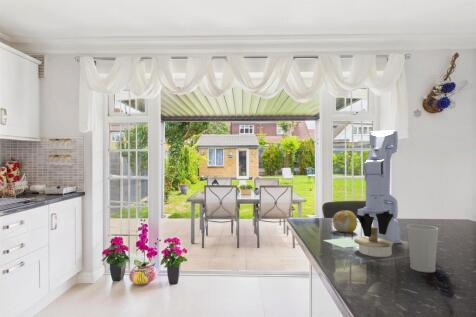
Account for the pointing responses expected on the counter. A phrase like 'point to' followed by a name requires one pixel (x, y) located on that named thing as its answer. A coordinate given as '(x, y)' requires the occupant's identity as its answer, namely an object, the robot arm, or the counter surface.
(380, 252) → the bowl
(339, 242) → the mat
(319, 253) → the counter surface
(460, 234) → the counter surface
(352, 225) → the fruit
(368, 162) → the robot arm
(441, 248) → the counter surface
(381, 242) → the lid
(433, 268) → the cup
